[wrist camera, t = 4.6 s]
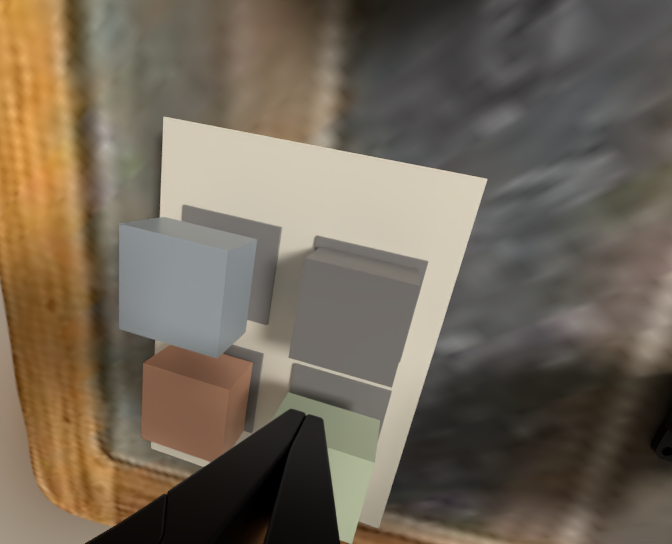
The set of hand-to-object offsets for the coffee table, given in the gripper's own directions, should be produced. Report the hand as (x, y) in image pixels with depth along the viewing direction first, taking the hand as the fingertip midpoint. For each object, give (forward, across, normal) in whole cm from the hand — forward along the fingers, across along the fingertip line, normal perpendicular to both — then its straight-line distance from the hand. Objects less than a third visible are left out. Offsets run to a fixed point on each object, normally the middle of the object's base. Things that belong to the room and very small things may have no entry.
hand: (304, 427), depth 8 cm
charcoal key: (+8, 0, 0) cm, 8 cm away
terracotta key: (+8, +7, +7) cm, 13 cm away
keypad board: (+11, +3, +3) cm, 12 cm away
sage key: (+7, 0, +7) cm, 10 cm away
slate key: (+7, +7, 0) cm, 10 cm away
